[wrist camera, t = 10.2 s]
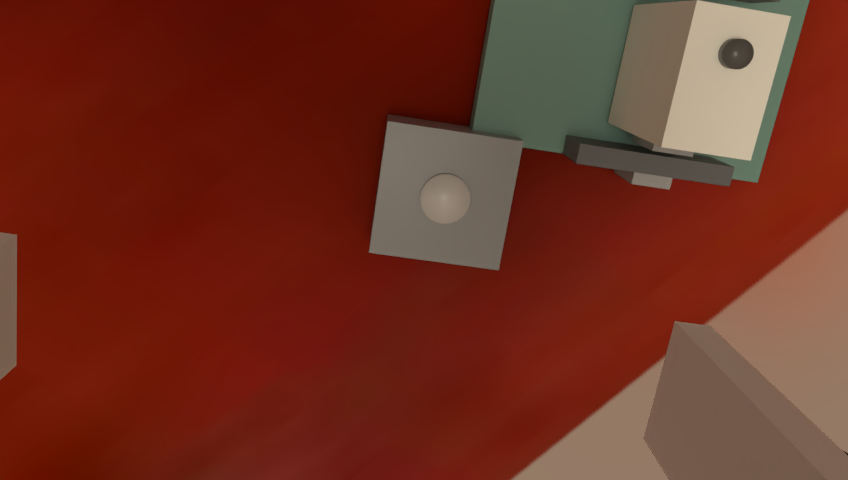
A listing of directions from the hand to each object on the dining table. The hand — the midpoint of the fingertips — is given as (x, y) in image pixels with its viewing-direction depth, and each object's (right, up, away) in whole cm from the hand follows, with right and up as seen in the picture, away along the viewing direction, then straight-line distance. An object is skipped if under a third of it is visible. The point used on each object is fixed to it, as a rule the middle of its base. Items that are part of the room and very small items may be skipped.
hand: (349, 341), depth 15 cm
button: (+2, +5, +26) cm, 27 cm away
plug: (+14, +11, +24) cm, 29 cm away
